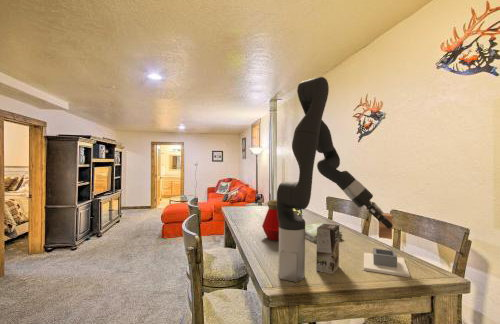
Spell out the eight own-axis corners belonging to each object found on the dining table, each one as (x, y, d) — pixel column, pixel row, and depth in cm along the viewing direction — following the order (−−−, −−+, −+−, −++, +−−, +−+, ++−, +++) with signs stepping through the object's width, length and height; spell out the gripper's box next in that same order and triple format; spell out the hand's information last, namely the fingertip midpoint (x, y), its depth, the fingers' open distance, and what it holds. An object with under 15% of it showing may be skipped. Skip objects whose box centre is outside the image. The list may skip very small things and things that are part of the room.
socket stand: (409, 277, 95) (409, 263, 95) (363, 270, 101) (363, 256, 101) (403, 260, 112) (403, 248, 112) (363, 254, 118) (364, 243, 118)
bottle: (295, 240, 138) (296, 201, 138) (275, 244, 131) (275, 203, 131) (276, 233, 151) (276, 197, 151) (256, 236, 144) (256, 199, 144)
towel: (313, 243, 134) (314, 233, 134) (293, 232, 154) (293, 223, 154) (344, 240, 140) (344, 230, 140) (320, 230, 160) (321, 221, 160)
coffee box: (333, 274, 97) (333, 230, 97) (315, 270, 100) (316, 227, 100) (339, 266, 105) (340, 224, 105) (323, 263, 108) (323, 222, 108)
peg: (391, 239, 104) (392, 215, 103) (378, 237, 105) (379, 214, 105) (390, 236, 108) (391, 213, 108) (378, 234, 110) (378, 212, 109)
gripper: (364, 188, 103) (400, 223, 98) (364, 185, 116) (396, 216, 111) (349, 201, 105) (383, 236, 100) (351, 197, 118) (381, 227, 113)
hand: (390, 225), depth 106 cm, fingers closed on peg, 4 cm apart
